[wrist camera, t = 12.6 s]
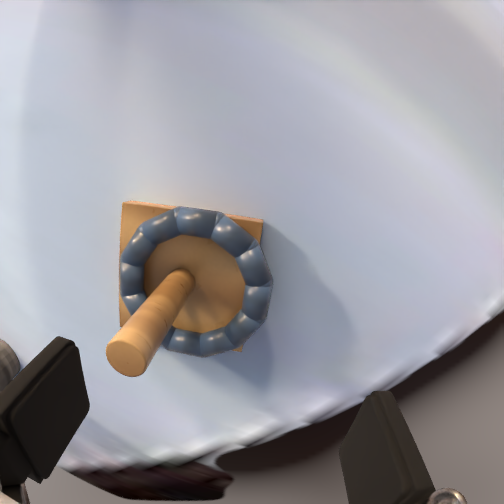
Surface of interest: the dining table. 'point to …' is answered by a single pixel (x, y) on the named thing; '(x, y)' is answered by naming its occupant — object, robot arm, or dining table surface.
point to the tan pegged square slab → (176, 289)
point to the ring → (228, 239)
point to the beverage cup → (7, 365)
